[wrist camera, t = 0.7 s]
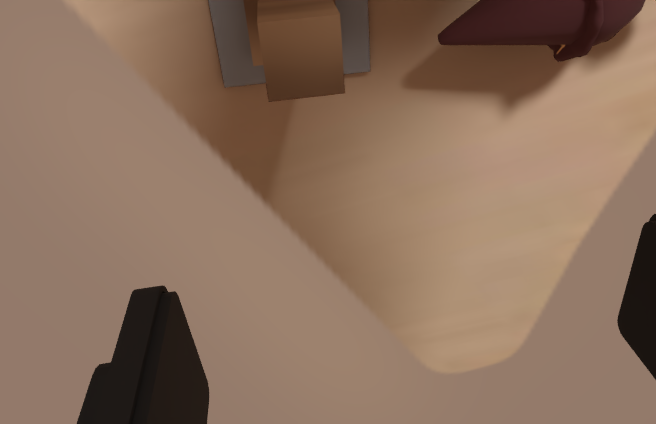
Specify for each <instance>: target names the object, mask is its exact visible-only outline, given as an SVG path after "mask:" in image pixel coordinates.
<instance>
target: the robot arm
mask: <svg viewBox="0 0 656 424" xmlns="http://www.w3.org/2000/svg"><path fill="white" fill-rule="evenodd" d="M618 327H619V330H620V333H621V334H622V336H623V337H624V339H625V340H626V341H627V342H628V344H629V345H630V347H631V348H632V349H633V350H634V352H635V353H636V354H637V356H638V357H639V358H640V360H641V361H642V362H643V364H644V365H645V366H646V367H647V369H648V370H649V371H650V373H651V374H652V375H653V377H654V378H655V379H656V214H654V215H653V216H652V217H651V218H650V221H649V222H647V223H645V224H644V225H643V228H642V231H641V235H640V238H639V242H638V246H637V249H636V253H635V257H634V261H633V264H632V267H631V271H630V275H629V279H628V282H627V286H626V290H625V294H624V297H623V301H622V304H621V308H620V311H619V315H618ZM208 405H209V387H208V382H207V379H206V376H205V373H204V370H203V367H202V364H201V361H200V358H199V355H198V352H197V349H196V346H195V344H194V340H193V338H192V335H191V332H190V329H189V326H188V323H187V320H186V317H185V314H184V311H183V308H182V305H181V303H180V300H179V297H178V295H177V293H176V292H168V291H167V289H166V287H165V286H157V287H150V288H143V289H137V290H134V291H133V292H132V294H131V297H130V301H129V304H128V307H127V311H126V314H125V317H124V321H123V324H122V327H121V331H120V334H119V338H118V341H117V344H116V348H115V351H114V354H113V358H112V361H111V363H105V364H99V366H98V367H97V368H96V369H95V371H94V374H93V375H92V378H91V381H90V384H89V387H88V390H87V394H86V397H85V400H84V403H83V406H82V409H81V412H80V415H79V418H78V421H77V424H207V415H208Z"/></svg>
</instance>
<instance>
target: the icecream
mask: <svg viewBox="0 0 656 424" xmlns="http://www.w3.org/2000/svg"><path fill="white" fill-rule="evenodd" d="M644 2H645V0H480V1H479V2H478V3H476V4H475V5H474V6H473V7H471V8H470V9H469V10H468V11H466V12H465V13H464V14H463V15H461V16H460V17H459V18H458V19H456V20H455V21H454V22H453V23H451V24H450V25H449V26H448V27H446V28H445V29H444V30H443V31H442V32H441V33H439V34H438V40H439V43H440V44H441V45H548V46H549V47H550V48H551V49H553V50H554V58H555V59H556V60H557V61H565V60H568V59H571V58H574V57H582V56H584V55H587V53H588V52H589V51H590V49H591V47H592V46H594V45H597V44H599V43H601V42H605V41H608V40H609V39H611V38H612V37H614V35H615V34H616V33H617V32H619V31H620V30H621V29H622V28H623V27H624V26H625V25H627V24H628V23H629V22H630V21H631V20H632V19H633V18H634V17H635V16H636V15H637V14H638V13H639V12H640V11H641V9H642V7H643V5H644Z"/></svg>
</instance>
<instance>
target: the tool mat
mask: <svg viewBox="0 0 656 424" xmlns="http://www.w3.org/2000/svg"><path fill="white" fill-rule="evenodd" d="M208 2H209V7H210V12H211V17H212V23H213V28H214V33H215V39H216V44H217V49H218V54H219V60H220V65H221V70H222V76H223V81H224V86H225V87H234V86H243V85H252V84H261V83H266V80H265V73H264V66H263V65H259V66H253V60H252V53H251V47H250V40H249V34H248V27H247V21H246V15H245V8H244V2H243V0H208ZM335 3H336V7H337V9H338V11H339V13H340V21H341V37H342V53H343V70H344V74H351V73H360V72H369V71H370V51H369V22H368V0H335Z"/></svg>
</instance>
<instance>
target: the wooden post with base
mask: <svg viewBox="0 0 656 424" xmlns="http://www.w3.org/2000/svg"><path fill="white" fill-rule="evenodd" d="M243 2H244V8H245V15H246V21H247V27H248V34H249V40H250V47H251V53H252V60H253V66H259V65H263V66H264V73H265V80H266V87H267V94H268V101H269V102H272V101H281V100H289V99H298V98H307V97H316V96H325V95H334V94H343V93H345V86H344V70H343V53H342V37H341V21H340V13H339V11H338V9H337V7H336V3H335V0H243Z"/></svg>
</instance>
